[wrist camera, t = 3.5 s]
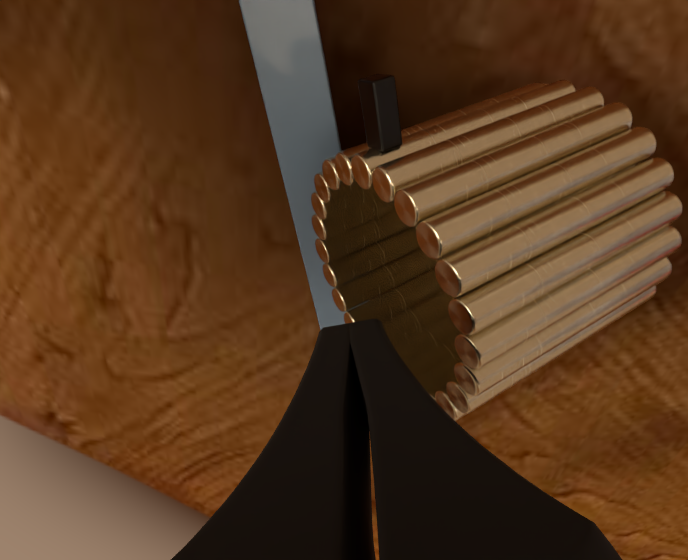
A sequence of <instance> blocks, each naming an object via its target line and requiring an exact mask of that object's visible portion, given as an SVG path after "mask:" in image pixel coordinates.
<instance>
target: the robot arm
mask: <svg viewBox="0 0 688 560" xmlns="http://www.w3.org/2000/svg"><path fill="white" fill-rule="evenodd" d="M369 431H370V438H369ZM370 441H371V451H372V463H373V474H374V486H375V499H376V512H377V527H378V543H379V559H380V560H622V559H621V558H620V556H619V555H618V553H617V552H616V550H615V549H614V548H613V546H612V545H611V544H610V542H609V541H608V540H607V538H606V537H605V536H604V535H603V533H602V532H601V531H600V529H599V528H598V527H597V526H596V524H595V523H594V522H592V521H590V520H589V519H587V518H585V517H584V516H582V515H580V514H579V513H577V512H575V511H574V510H572V509H570V508H569V507H567V506H565V505H564V504H562V503H561V502H559V501H557V500H556V499H554V498H553V497H551V496H550V495H548V494H547V493H545V492H543V491H542V490H541V489H539V488H538V487H536V486H535V485H533V484H532V483H530V482H529V481H528V480H526V479H525V478H523V477H522V476H520V475H519V474H518V473H516V472H515V471H514V470H512V469H511V468H510V467H509V466H507V465H506V464H505V463H503V462H502V461H501V460H500V459H498V458H497V457H496V456H495V455H493V454H492V453H491V452H489V451H488V450H487V449H486V448H484V447H483V446H482V445H481V444H479V443H478V442H477V441H476V440H475V439H474V438H473V437H472V436H470V435H469V434H468V433H467V432H466V431H465V430H464V429H463V428H462V427H461V426H459V425H458V424H457V423H456V422H455V421H454V420H453V419H452V418H451V417H450V416H449V415H448V414H447V413H446V412H445V411H444V410H443V409H442V408H441V407H440V405H439V404H438V403H437V402H436V401H435V400H434V399H433V398H432V397H431V395H430V394H429V393H428V392H427V391H426V390H425V389H424V387H423V386H422V385H421V384H420V383H419V381H418V380H417V379H416V378H415V376H414V375H413V374H412V372H411V371H410V370H409V368H408V367H407V366H406V364H405V363H404V361H403V360H402V359H401V357H400V356H399V354H398V353H397V351H396V350H395V348H394V346H393V345H392V343H391V341H390V340H389V338H388V336H387V334H386V332H385V330H384V327H383V325H382V322H381V321H380V320H378V319H377V318H375V319H369V320H363V321H358V322H352V323H346V324H340V325H335V326H329V327H323V328H322V329H321V331H320V332H319V335H318V339H317V342H316V345H315V348H314V351H313V354H312V356H311V359H310V361H309V364H308V366H307V369H306V371H305V373H304V376H303V378H302V380H301V382H300V384H299V387H298V389H297V391H296V393H295V395H294V397H293V399H292V401H291V403H290V405H289V407H288V409H287V410H286V412H285V414H284V416H283V418H282V420H281V422H280V423H279V425H278V427H277V429H276V430H275V432H274V434H273V435H272V437H271V439H270V440H269V442H268V443H267V445H266V446H265V448H264V449H263V451H262V452H261V454H260V455H259V457H258V458H257V460H256V461H255V463H254V464H253V465H252V467H251V468H250V470H249V471H248V472H247V474H246V475H245V476H244V478H243V479H242V480H241V482H240V483H239V485H238V486H237V487H236V488H235V490H234V491H233V492H232V493H231V495H230V496H229V497H228V498H227V500H226V501H225V502H224V503H223V504H222V506H221V507H220V508H219V509H218V510H217V511H216V512H215V513H214V515H213V516H212V517H211V518H210V519H209V520H208V521H207V523H206V524H205V525H204V526H203V527H202V528H201V530H200V531H199V532H198V533H197V534H196V535H195V536H194V537H193V538H192V539H191V540H190V541H189V542H188V544H187V545H186V546H185V547H184V548H183V549H182V550H181V551H180V552H178V553H177V554H176V555H175V556H174V557H173V558H172V559H171V560H376V559H375V551H374V543H373V529H372V504H371V470H370Z"/></svg>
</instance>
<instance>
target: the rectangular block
mask: <svg viewBox="0 0 688 560" xmlns="http://www.w3.org/2000/svg"><path fill="white" fill-rule="evenodd" d="M239 4H240V8H241V12H242V16H243V20H244V24H245V28H246V32H247V36H248V40H249V44H250V48H251V52H252V56H253V60H254V64H255V68H256V72H257V76H258V80H259V84H260V88H261V92H262V96H263V100H264V104H265V109H266V113H267V117H268V121H269V125H270V129H271V133H272V137H273V141H274V145H275V149H276V153H277V157H278V161H279V165H280V169H281V173H282V177H283V181H284V185H285V189H286V193H287V197H288V201H289V205H290V209H291V213H292V217H293V221H294V225H295V229H296V233H297V237H298V241H299V245H300V249H301V253H302V257H303V261H304V265H305V269H306V273H307V277H308V281H309V285H310V289H311V293H312V297H313V302H314V306H315V310H316V314H317V318H318V322H319V326H320V330H321V329H322V328H323V327H329V326H335V325H340V324H345V321H344V313H345V312H342V311H340V310H339V309H338V307H337V306H336V304H335V302H334V300H333V297H332V289H333V288H335V287H332V286H330V285H329V283H328V282H327V281H326V279H325V277H324V274H323V269H322V266H323V264H324V262H323V261H322V260H321V259H320V257H319V255H318V253H317V251H316V247H315V240H316V239H317V238H319V237H318V236H317V235H316V233H315V231H314V229H313V226H312V220H311V218H312V216H313V215H314V214H315V211H314V209H313V206H312V203H311V194H312V193H313V192H315V191H316V188H315V184H314V176H315V175H316V174H317V173H319V172H322V163H323V161H324V160H325V159H327V158H330V157H333V156H336V154H337V153H338V152H340V151H342V149H341V144H340V138H339V133H338V127H337V122H336V116H335V111H334V105H333V100H332V95H331V89H330V84H329V78H328V73H327V67H326V62H325V56H324V51H323V45H322V40H321V34H320V29H319V23H318V18H317V12H316V7H315V1H314V0H239ZM368 301H369V300H368ZM366 302H367V301H366ZM364 303H365V302H364ZM362 304H363V303H362ZM360 305H361V304H360ZM358 306H359V305H358ZM356 307H357V306H356ZM354 308H355V307H354ZM352 309H353V308H352ZM350 310H351V309H350ZM348 311H349V310H348ZM346 312H347V311H346Z"/></svg>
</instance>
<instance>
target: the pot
mask: <svg viewBox="0 0 688 560" xmlns="http://www.w3.org/2000/svg"><path fill="white" fill-rule="evenodd" d="M358 87H359V93H360V99H361V106H362V112H363V119H364V125H365V132H366V138H367V142H366V143H363V144H360V145H357V146H354V147H352V148H349V149H346V150H343V151H340V152H338V153H337V154H336V156H333V157H330V158H327V159H325V160H324V161H323V163H322V172H319V173H317V174H316V175H315V176H314V184H315V188H316V191H315V192H313V193H312V194H311V203H312V206H313V209H314V211H315V214H314V215H313V216H312V218H311V220H312V226H313V229H314V231H315V233H316V235H317V236H318V237H319V238H317V239H316V240H315V247H316V251H317V253H318V255H319V257H320V259H321V260H322V261H323V262H324V264H323V266H322V269H323V274H324V277H325V279H326V281H327V282H328V283H329V285H330V286H332V287H335V288H333V289H332V297H333V300H334V302H335V304H336V306H337V307H338V309H339V310H340V311H342V312H345V313H344V321H345V324H346V323H352V322H358V321H363V320H369V319H375V318H377V319H378V320H380V321H381V322H382V325H383V327H384V330H385V332H386V334H387V336H388V338H389V340H390V341H391V343H392V345H393V346H394V348H395V350H396V351H397V353H398V354H399V356H400V357H401V359H402V360H403V361H404V363H405V364H406V366H407V367H408V368H409V370H410V371H411V372H412V374H413V375H414V376H415V378H416V379H417V380H418V381H419V383H420V384H421V385H422V386H423V387H424V389H425V390H426V391H427V392H428V393H429V394H430V395H431V397H432V398H433V399H434V400H435V401H436V402H437V403H438V404H439V405H440V407H441V408H442V409H443V410H444V411H445V412H446V413H447V414H448V415H449V416H450V417H451V418H452V419H453V420H454V421H456V420H458V419H460V418H461V417H463V416H464V415H466V414H468V413H470V412H472V411H473V410H475V409H477V408H478V407H480V406H481V405H483V404H484V403H486V402H488V401H489V400H491V399H492V398H494V397H496V396H497V395H499V394H500V393H502V392H503V391H505V390H507V389H508V388H510V387H511V386H513V385H514V384H516V383H518V382H519V381H521V380H522V379H524V378H526V377H527V376H529V375H530V374H532V373H533V372H535V371H537V370H538V369H540V368H541V367H543V366H545V365H546V364H548V363H549V362H551V361H552V360H554V359H556V358H557V357H559V356H560V355H562V354H563V353H565V352H567V351H568V350H570V349H571V348H573V347H575V346H576V345H578V344H579V343H581V342H582V341H584V340H586V339H587V338H589V337H590V336H592V335H594V334H595V333H597V332H598V331H600V330H601V329H603V328H605V327H606V326H608V325H609V324H611V323H612V322H614V321H616V320H617V319H619V318H620V317H622V316H624V315H625V314H627V313H628V312H630V311H631V310H633V309H635V308H636V307H638V306H639V305H641V304H642V303H644V302H646V301H647V300H649V299H650V298H652V297H653V296H654V295H655V293H656V285H657V284H658V283H660V282H662V281H663V280H665V279H666V278H668V277H669V275H670V273H671V271H672V265H671V262H670V260H669V259H668V258H667V257H668V256H669V255H671V254H673V253H674V252H676V251H677V250H678V249H679V248H680V245H681V235H680V233H679V232H678V230H677V229H676V228H675V227H673V226H672V225H670V224H671V223H673V222H674V221H676V220H677V219H678V218H679V217H680V215H681V213H682V203H681V201H680V199H679V198H678V197H677V196H676V195H675V194H673V193H671V192H669V191H662V190H664V189H666V188H668V187H669V186H670V185H671V183H672V181H673V178H674V171H673V168H672V166H671V165H670V163H669V162H668V161H666V160H664V159H662V158H657V157H653V158H650V157H651V156H652V155H653V153H654V151H655V149H656V138H655V136H654V134H653V133H652V132H651V131H650V130H649V129H647V128H644V127H635V128H632V129H630V127H631V125H632V119H633V118H632V113H631V111H630V109H629V108H628V107H627V106H626V105H625V104H622V103H618V102H614V103H611V104H608V105H606V106H604V97H603V95H602V93H601V92H600V91H599V90H598V89H597V88H594V87H585V88H582V89H580V90H577V91H576V89H575V87H574V85H573V84H572V83H571V82H569V81H567V80H559V81H556V82H554V83H551V84H548V85H545V84H543V83H540V82H535V83H532V84H529V85H526V86H524V87H521V88H518V89H515V90H512V91H509V92H507V93H504V94H501V95H498V96H495V97H493V98H490V99H487V100H484V101H481V102H478V103H476V104H473V105H470V106H467V107H464V108H462V109H459V110H456V111H453V112H450V113H447V114H445V115H442V116H439V117H436V118H433V119H430V120H428V121H425V122H422V123H419V124H416V125H414V126H411V127H408V128H405V129H402V130H401V127H400V118H399V110H398V102H397V93H396V85H395V78H394V76H391V75H382V74H376V75H372V76H369V77H366V78H362V79H360V80H358ZM629 129H630V130H629ZM648 158H649V159H648ZM646 159H647V160H646ZM644 160H645V161H644ZM642 161H643V162H642ZM640 162H641V163H640ZM638 163H639V164H638ZM636 164H637V165H636ZM434 268H435V269H434ZM432 269H433V270H432ZM430 270H431V271H430ZM428 271H429V272H428ZM426 272H427V273H426ZM424 273H425V274H424ZM422 274H423V275H422ZM420 275H421V276H420ZM418 276H419V277H418ZM409 280H410V281H409ZM407 281H408V282H407ZM405 282H406V283H405ZM403 283H404V284H403ZM401 284H402V285H401ZM399 285H400V286H399ZM397 286H398V287H397ZM395 287H396V288H395ZM393 288H394V289H393ZM391 289H392V290H391ZM389 290H390V291H389ZM387 291H388V292H387ZM385 292H386V293H385ZM383 293H384V294H383ZM381 294H382V295H381ZM372 298H373V299H372ZM370 299H371V300H370ZM368 300H369V301H368ZM366 301H367V302H366ZM364 302H365V303H364ZM362 303H363V304H362ZM360 304H361V305H360ZM358 305H359V306H358ZM356 306H357V307H356ZM354 307H355V308H354ZM352 308H353V309H352ZM350 309H351V310H350ZM348 310H349V311H348ZM346 311H347V312H346Z"/></svg>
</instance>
